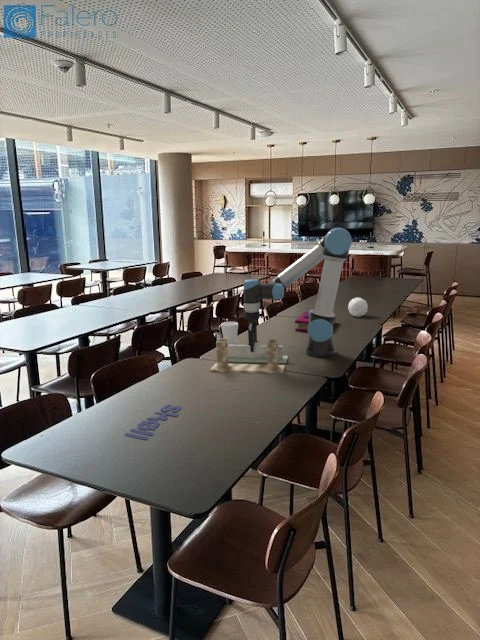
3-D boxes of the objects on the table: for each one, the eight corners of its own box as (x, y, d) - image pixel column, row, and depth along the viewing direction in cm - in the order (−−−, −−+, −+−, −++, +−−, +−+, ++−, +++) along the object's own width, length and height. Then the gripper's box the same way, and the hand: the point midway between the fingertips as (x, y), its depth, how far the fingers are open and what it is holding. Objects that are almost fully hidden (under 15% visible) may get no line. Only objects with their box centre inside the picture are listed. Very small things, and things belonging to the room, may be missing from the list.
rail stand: (284, 367, 225) (284, 338, 222) (282, 373, 216) (282, 344, 213) (215, 365, 232) (214, 337, 229) (210, 371, 222) (208, 342, 219)
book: (335, 323, 314) (335, 312, 312) (328, 333, 288) (328, 321, 287) (304, 322, 321) (304, 311, 319) (294, 331, 295) (294, 319, 294)
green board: (288, 357, 241) (287, 355, 240) (286, 363, 231) (286, 361, 231) (222, 355, 247) (222, 354, 247) (218, 361, 238) (218, 360, 238)
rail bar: (283, 356, 237) (283, 345, 236) (282, 358, 235) (282, 346, 233) (224, 355, 243) (224, 344, 242) (223, 357, 240) (223, 345, 239)
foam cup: (236, 348, 260) (235, 325, 257) (220, 348, 262) (219, 325, 259) (240, 344, 269) (239, 321, 266) (224, 343, 271) (223, 321, 268)
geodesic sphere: (343, 306, 340) (347, 292, 330) (362, 305, 341) (366, 291, 331) (348, 321, 331) (353, 308, 320) (367, 320, 332) (372, 306, 322)
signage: (166, 403, 184) (188, 406, 180) (166, 405, 184) (188, 408, 181) (121, 434, 159) (146, 439, 155) (121, 436, 159) (146, 441, 155)
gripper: (247, 307, 243) (248, 351, 247) (241, 314, 227) (242, 361, 232) (261, 307, 241) (263, 352, 246) (256, 314, 225) (258, 361, 230)
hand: (253, 356), depth 239 cm, fingers open, 3 cm apart
